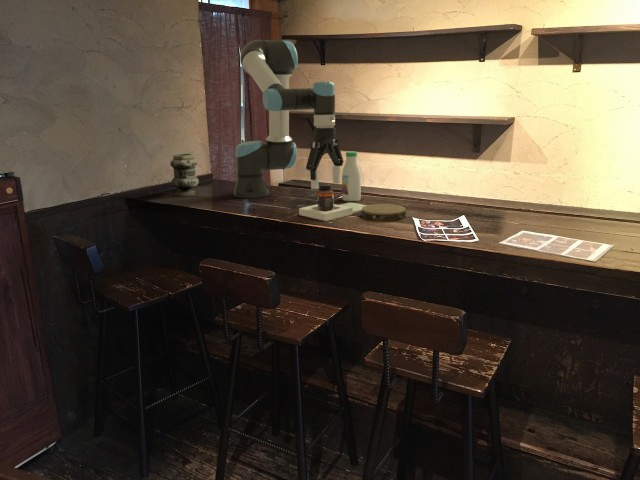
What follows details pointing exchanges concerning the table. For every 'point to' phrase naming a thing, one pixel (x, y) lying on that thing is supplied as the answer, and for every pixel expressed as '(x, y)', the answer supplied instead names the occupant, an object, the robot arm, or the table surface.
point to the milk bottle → (351, 178)
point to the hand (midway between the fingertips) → (325, 186)
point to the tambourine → (383, 212)
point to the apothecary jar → (184, 173)
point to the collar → (328, 215)
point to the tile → (354, 206)
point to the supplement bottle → (325, 198)
